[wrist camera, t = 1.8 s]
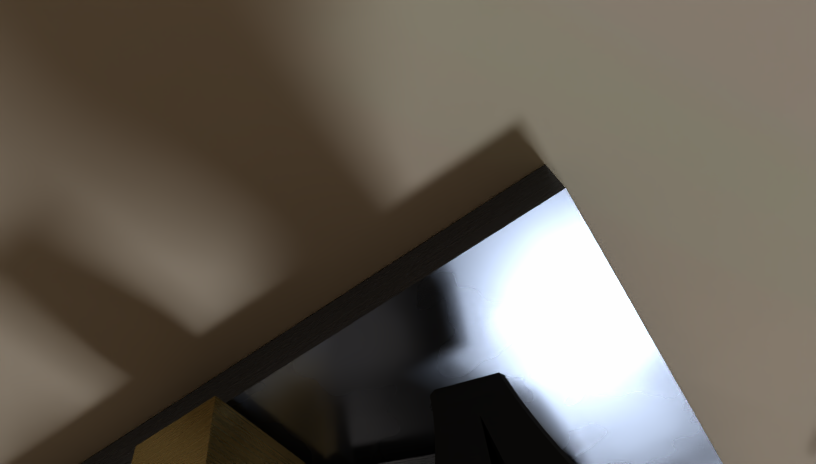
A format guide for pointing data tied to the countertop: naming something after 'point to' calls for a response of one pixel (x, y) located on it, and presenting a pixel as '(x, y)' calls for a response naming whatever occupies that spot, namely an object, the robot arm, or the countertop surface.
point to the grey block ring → (221, 441)
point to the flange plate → (466, 349)
